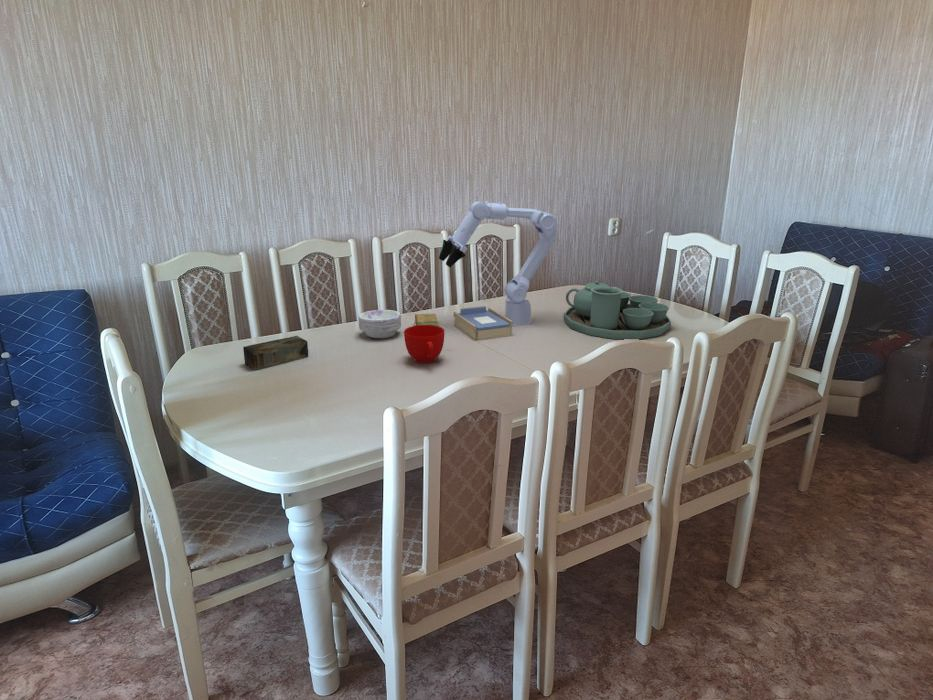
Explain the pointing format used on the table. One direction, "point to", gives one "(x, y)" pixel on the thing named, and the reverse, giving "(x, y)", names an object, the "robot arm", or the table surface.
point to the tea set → (615, 313)
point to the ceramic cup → (424, 342)
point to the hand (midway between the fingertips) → (444, 262)
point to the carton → (426, 319)
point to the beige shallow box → (486, 333)
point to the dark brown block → (275, 352)
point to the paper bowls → (380, 323)
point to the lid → (482, 318)
